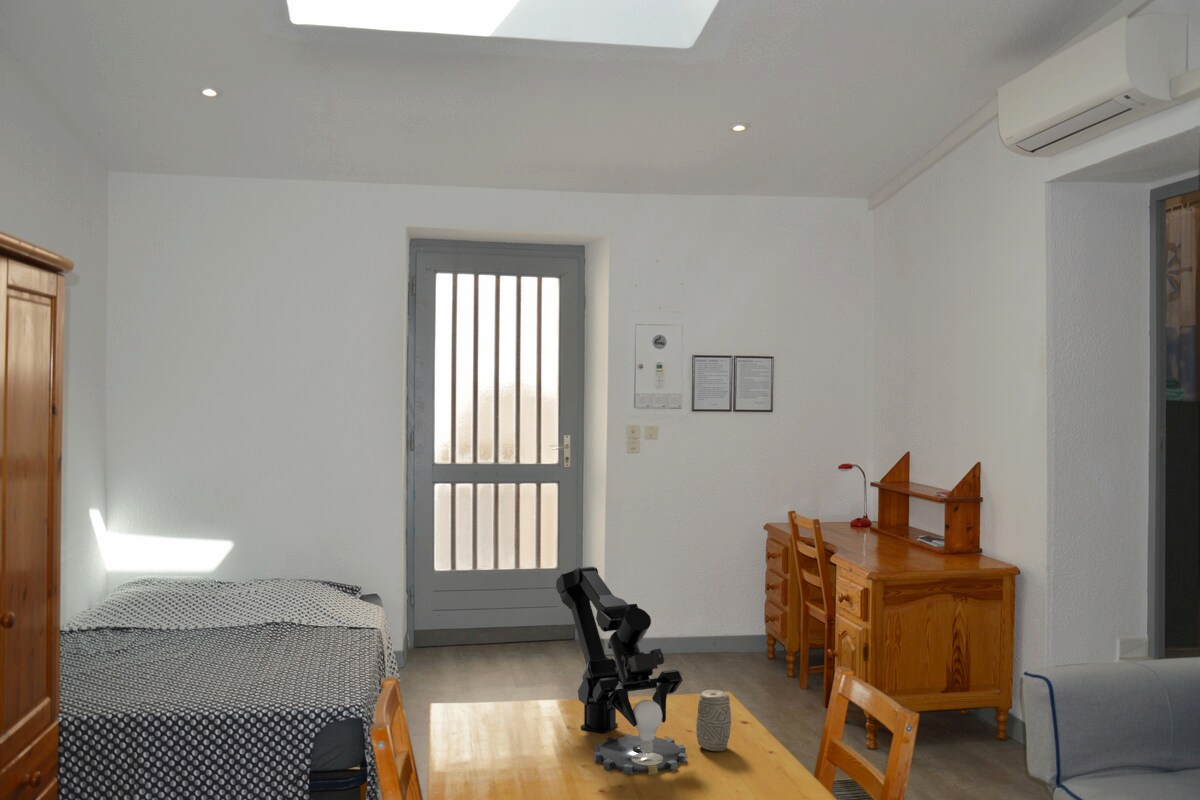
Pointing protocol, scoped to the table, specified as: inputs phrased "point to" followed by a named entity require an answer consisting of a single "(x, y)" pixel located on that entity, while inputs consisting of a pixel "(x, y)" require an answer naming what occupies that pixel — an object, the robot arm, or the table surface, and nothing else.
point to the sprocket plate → (639, 755)
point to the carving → (713, 720)
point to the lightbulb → (647, 723)
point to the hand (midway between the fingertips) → (649, 723)
